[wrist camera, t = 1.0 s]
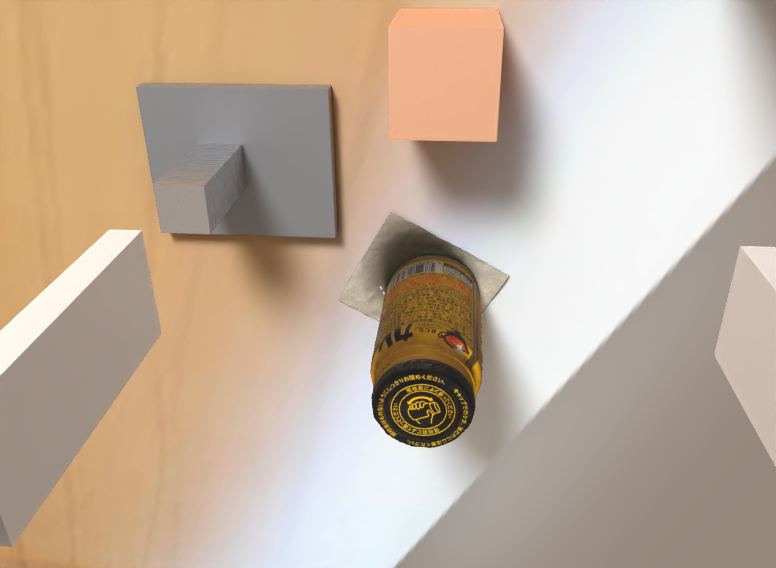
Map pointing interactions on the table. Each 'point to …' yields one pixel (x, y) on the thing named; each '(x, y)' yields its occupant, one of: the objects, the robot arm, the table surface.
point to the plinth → (253, 149)
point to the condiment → (423, 330)
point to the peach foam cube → (445, 74)
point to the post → (200, 188)
